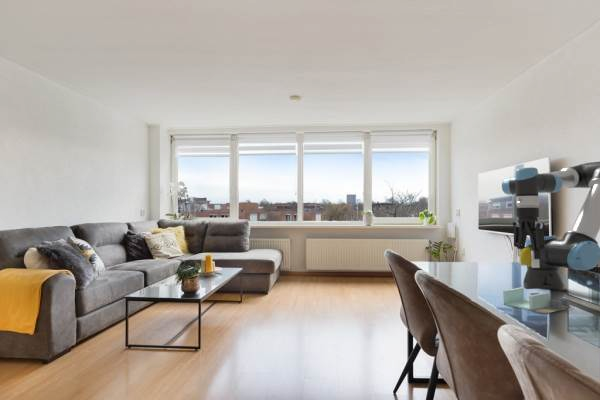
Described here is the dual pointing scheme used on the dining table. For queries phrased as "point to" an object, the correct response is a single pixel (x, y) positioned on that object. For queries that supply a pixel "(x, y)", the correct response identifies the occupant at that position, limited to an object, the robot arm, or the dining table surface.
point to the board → (547, 310)
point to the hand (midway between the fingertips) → (529, 266)
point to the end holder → (534, 303)
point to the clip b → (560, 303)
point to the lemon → (526, 256)
